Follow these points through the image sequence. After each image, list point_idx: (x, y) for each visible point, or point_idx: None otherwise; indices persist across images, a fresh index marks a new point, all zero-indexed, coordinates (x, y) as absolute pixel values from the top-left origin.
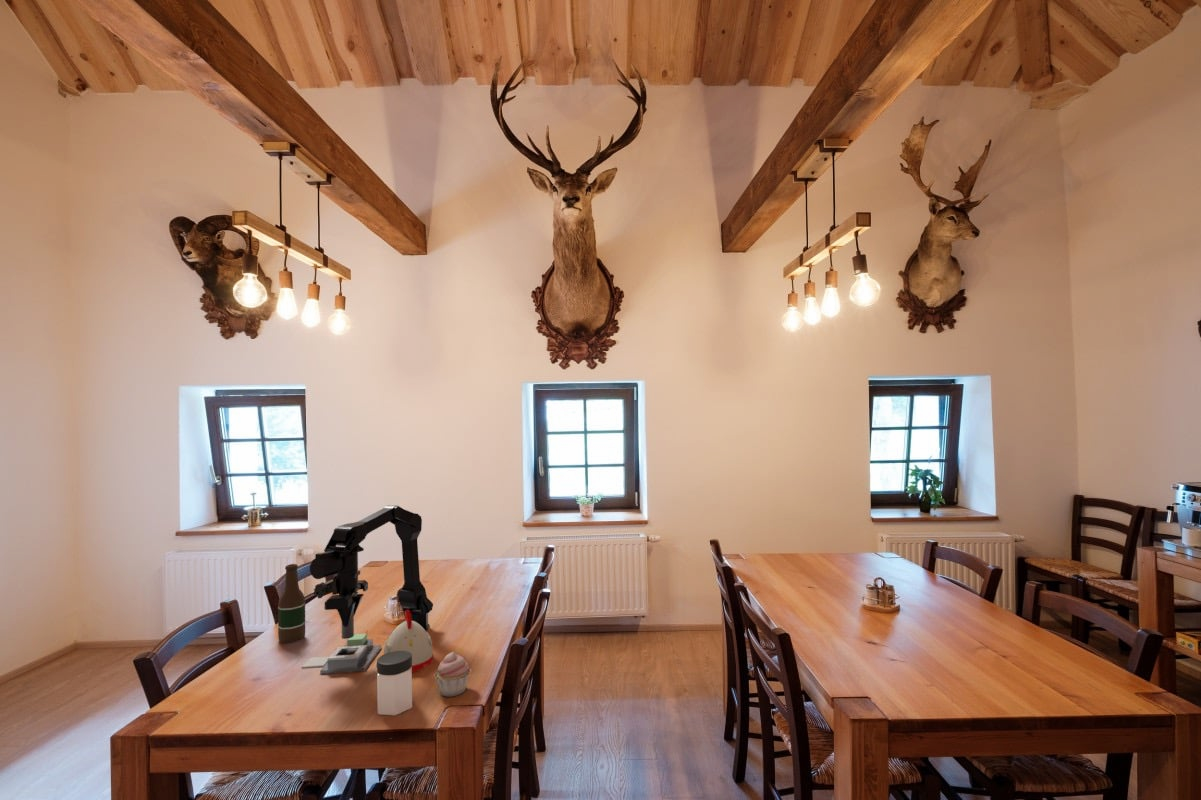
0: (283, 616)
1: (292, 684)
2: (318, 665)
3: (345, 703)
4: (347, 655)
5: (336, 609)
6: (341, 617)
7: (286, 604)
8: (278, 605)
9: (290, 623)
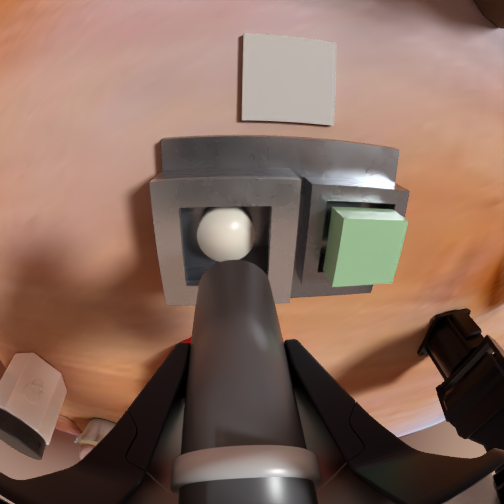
0: None
1: (92, 76)
2: (242, 98)
3: (19, 295)
4: (177, 264)
5: (63, 470)
6: (136, 407)
7: None
8: None
9: None
